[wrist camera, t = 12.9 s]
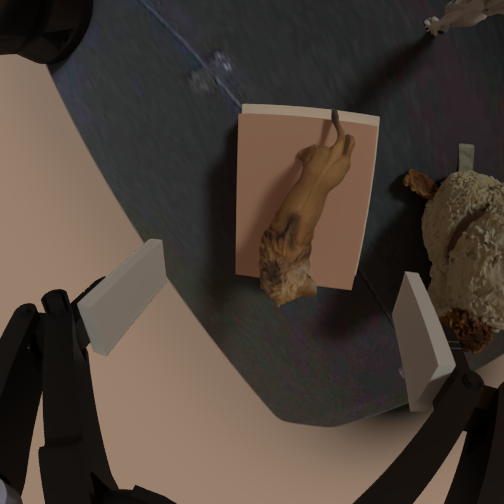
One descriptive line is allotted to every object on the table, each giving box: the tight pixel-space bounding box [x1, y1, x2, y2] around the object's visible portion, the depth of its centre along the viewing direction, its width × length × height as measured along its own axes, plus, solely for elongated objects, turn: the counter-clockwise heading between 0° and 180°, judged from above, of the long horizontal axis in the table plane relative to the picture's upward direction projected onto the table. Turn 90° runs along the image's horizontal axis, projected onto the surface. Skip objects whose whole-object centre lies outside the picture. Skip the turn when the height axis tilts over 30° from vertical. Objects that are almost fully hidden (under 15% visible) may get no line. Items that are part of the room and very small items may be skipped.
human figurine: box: [424, 0, 504, 36], centre depth 16 cm, size 12×4×18 cm, turn 126°
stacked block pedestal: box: [236, 104, 380, 290], centre depth 32 cm, size 14×18×10 cm
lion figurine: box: [258, 108, 355, 307], centre depth 23 cm, size 15×5×9 cm, turn 168°
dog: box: [403, 144, 504, 354], centre depth 24 cm, size 23×19×20 cm
